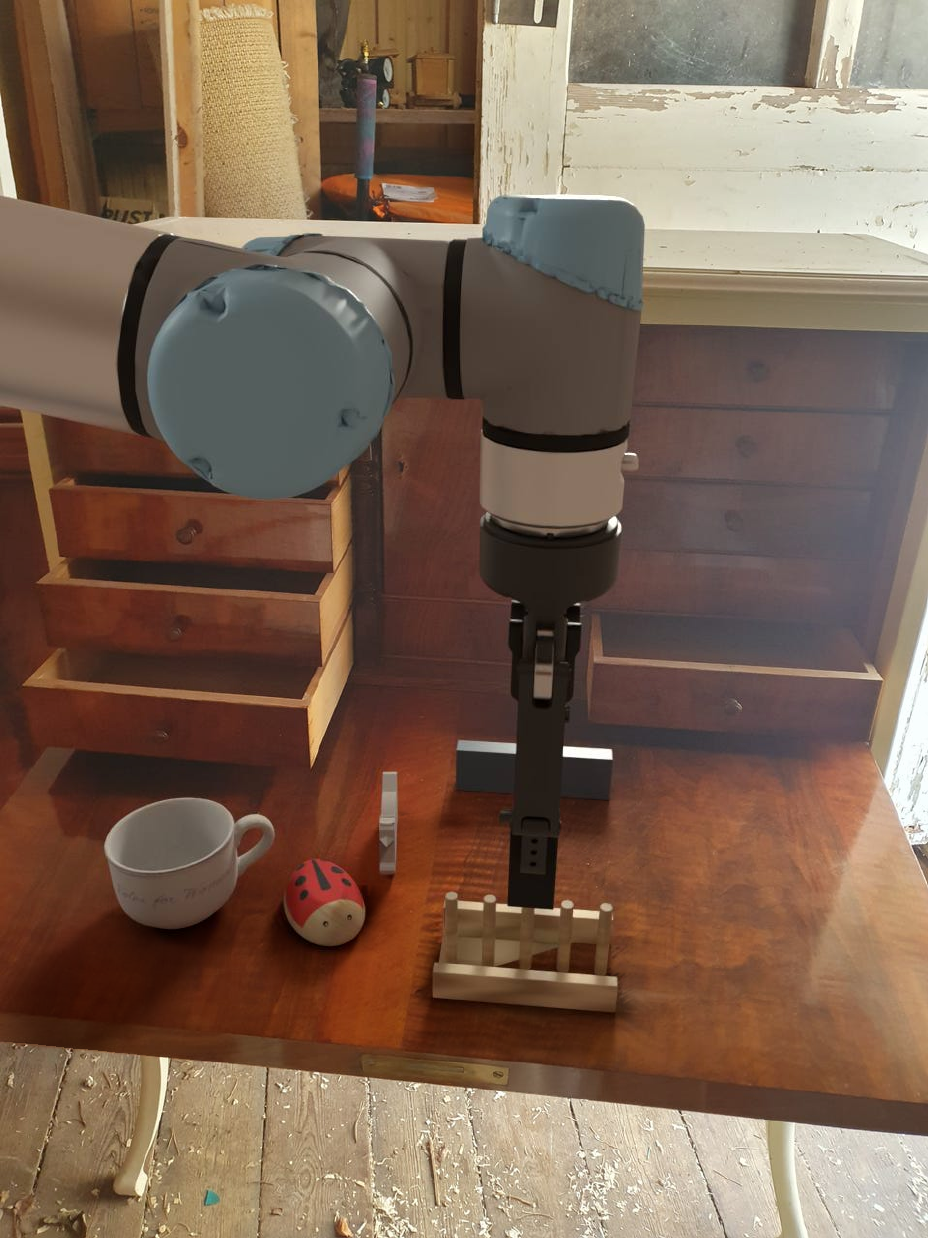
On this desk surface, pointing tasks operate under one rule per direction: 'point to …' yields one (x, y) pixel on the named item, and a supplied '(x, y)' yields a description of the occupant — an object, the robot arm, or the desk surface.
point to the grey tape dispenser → (388, 823)
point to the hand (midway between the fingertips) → (532, 854)
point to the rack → (522, 955)
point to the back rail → (496, 769)
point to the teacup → (180, 860)
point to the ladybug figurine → (324, 903)
